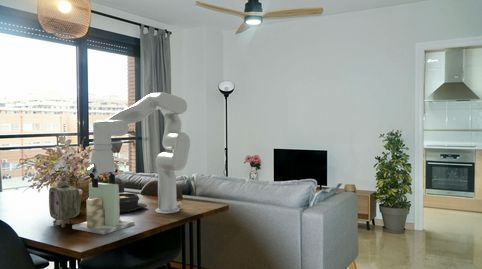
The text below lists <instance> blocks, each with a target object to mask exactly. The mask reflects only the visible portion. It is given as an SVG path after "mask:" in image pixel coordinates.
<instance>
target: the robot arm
mask: <svg viewBox="0 0 482 269" xmlns="http://www.w3.org/2000/svg"><path fill="white" fill-rule="evenodd" d="M187 109H188V104H187V101H186V99H184V98H182V97H179V96H177V95H173V94H171V93H167V92H164V91H161V92H151V93H149V94H147V95H146V96H144V97H143V98H141V99H139V100H138V101H137V102H135V103H134V104H133V105H131V106H129V107H127V108H124V109H122V110H120V111H117V113H114V114H113V115H111V116H110V117H108V118H107V119H105V120H96V121H94V122H93V124H92V126H93V127H92V128H93V130H92V131H93V132H92V133H93V151H92V152H91V159H90V166H89V167H87V169H86V172H87V175H88V177H90V178H89V179H91V183H92V187H94V188H98V183H99V178H98V177H99V175H100V174H101V175H102V174H109V175H108V180H109V181H108V182H109V183H108V184H116V175H117V173H118V172H119V171H118V170H119V167H120V165H119V164H117V163H115V158H114V157H115V156H114V152H113V150H112V148H113V144H112V137H123V136H126V134H128V132H129V130H130V126H129V125H131V124H135V123H138V122H140V121H143V120H145V119H146V118H147V117H148V116H150V115H151V114H153V113H154V112H155V111H157V110H159V111H160V112H161V114H162V115H163V118H164V121H165V126H164V131H163V136H162V147H163V148H164V149H166V150H168V151H163V152H159V154H157V156H156V158H155V165H156V171H157V198H158V199H157V201H158V202H157V204H158V207H157V208H155V212H156V213H157V214H174V213H177V212H180V207H178V206H180V205H182V201H177V176H176V173H175V172H176V171H177V172H178V171H179V172H180V171H183V170H184V169H185V167H186V166H187V163H188V158H189V152H190V147H191V139H190V136H189V135H188V134H187V133H186V132H183V131H181V130H182V120H181V118H180V116H179V115H183V114H184V113H185V112H186V111H187ZM169 150H170V151H169Z"/></svg>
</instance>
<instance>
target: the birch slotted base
mask: <svg viewBox="0 0 482 269" xmlns="http://www.w3.org/2000/svg"><path fill="white" fill-rule="evenodd" d="M85 202H86V221H84V222H80V223H76V224H71V225H72V226H71V227H72V229H73V230H79V231H84V232H89V233H92V234H93V233H94V234H98V235H99V234H100V235H105V234H109V233H112V232H115V231H119V230H122V229H126V228H128V227H132V226H134V225H136V224H135V223H136V222H135V221H134V220H127V219H122V218H121V215H120V214H121V213H120V205H119V225H116V226H110V225H105V209H102V198H93V199H89V198H88V199H86V201H85ZM120 218H121V219H120Z"/></svg>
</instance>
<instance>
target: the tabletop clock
mask: <svg viewBox="0 0 482 269" xmlns="http://www.w3.org/2000/svg"><path fill="white" fill-rule="evenodd" d="M62 174H64V176H62ZM59 176H60V179H61V181H59V182H58V184H57V186H51V187H49V190H48V208H49V215H50V217H51V218H52V219H54V220H53V221H52V224H54V225H55V224H57V223H58V221H60V220H63V222H62V224H61V228H63V229H64V228H65V227H66V224H65V223H66V221H67V224H68V225H70V224H71V225H72V221H71V220H70V219H72V218H76V217H77V216H79V215H80V213H81V205H80V194H79V190H78V189H79V188H76V187H74V186H72V185H70V182H69V181H67V177H68V176H67V173H66V171H64V170H63V171H60V174H59Z"/></svg>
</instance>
